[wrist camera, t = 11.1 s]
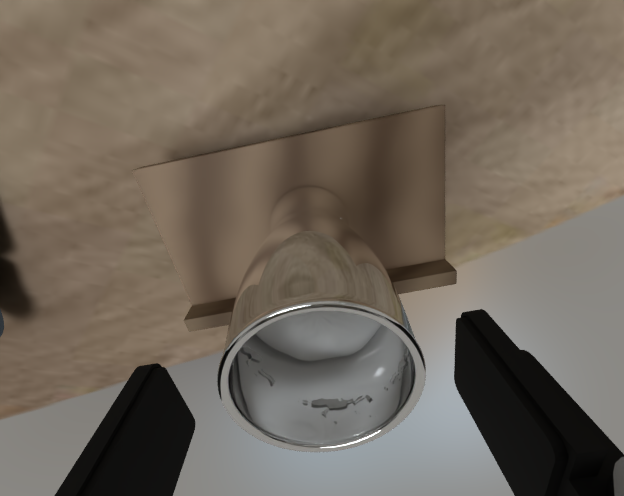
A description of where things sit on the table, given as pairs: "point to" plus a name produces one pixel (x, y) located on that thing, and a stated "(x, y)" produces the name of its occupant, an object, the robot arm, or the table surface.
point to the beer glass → (318, 335)
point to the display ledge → (294, 174)
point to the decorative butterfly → (1, 323)
